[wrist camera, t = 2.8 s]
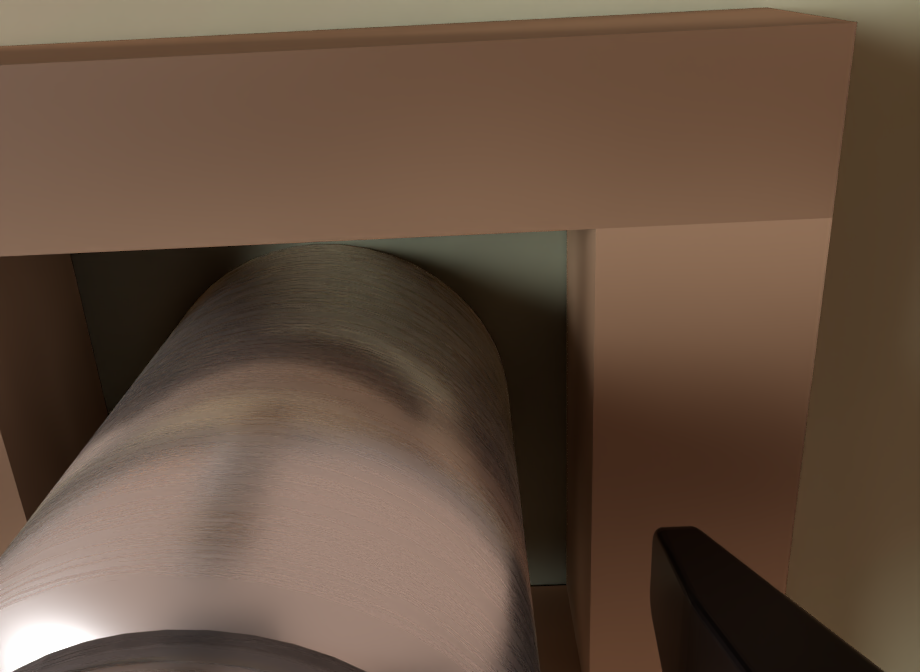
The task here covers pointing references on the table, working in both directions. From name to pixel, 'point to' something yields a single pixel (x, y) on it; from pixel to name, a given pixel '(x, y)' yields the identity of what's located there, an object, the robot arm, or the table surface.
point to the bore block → (468, 213)
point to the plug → (290, 491)
